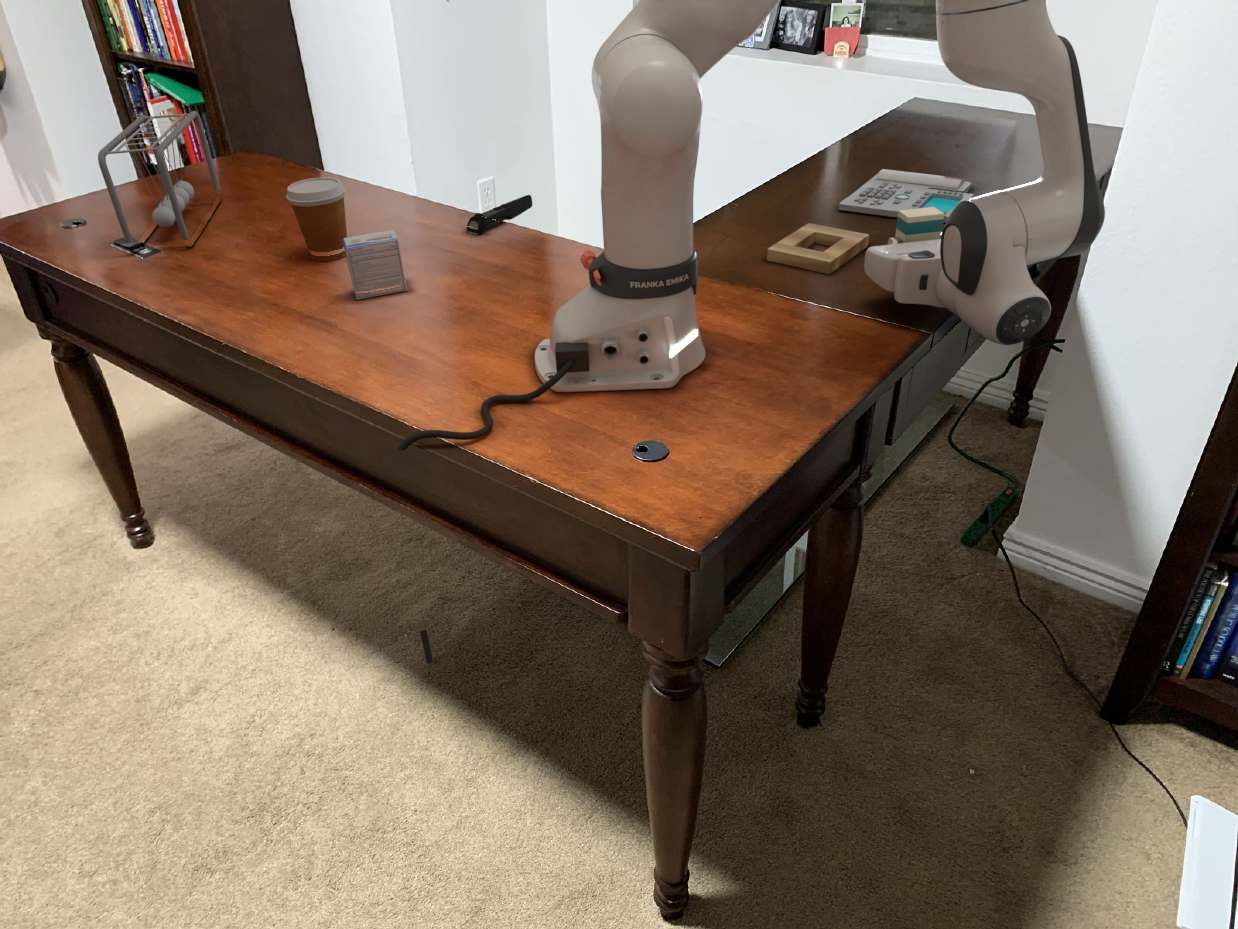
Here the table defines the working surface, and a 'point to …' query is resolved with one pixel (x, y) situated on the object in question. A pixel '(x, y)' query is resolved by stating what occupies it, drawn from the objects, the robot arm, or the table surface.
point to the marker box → (919, 224)
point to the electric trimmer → (499, 214)
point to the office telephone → (907, 193)
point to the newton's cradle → (175, 195)
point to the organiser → (825, 262)
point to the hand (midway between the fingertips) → (913, 239)
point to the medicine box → (375, 263)
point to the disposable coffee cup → (320, 214)
